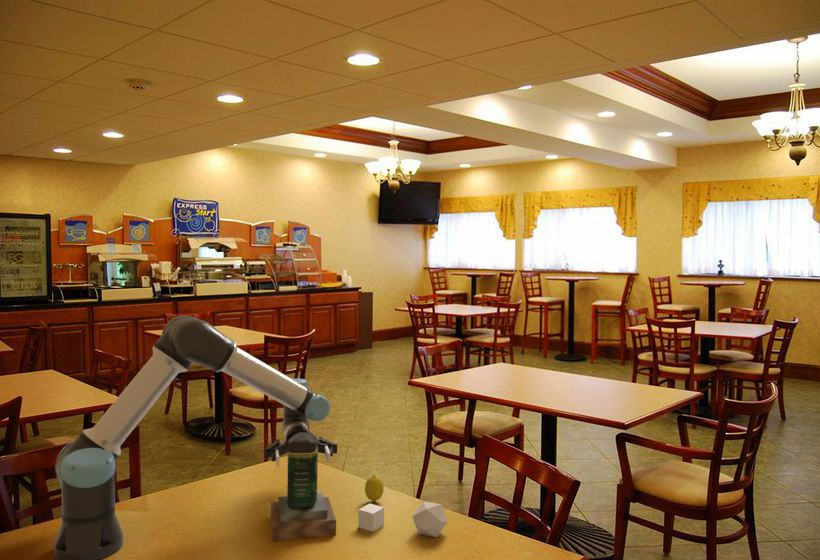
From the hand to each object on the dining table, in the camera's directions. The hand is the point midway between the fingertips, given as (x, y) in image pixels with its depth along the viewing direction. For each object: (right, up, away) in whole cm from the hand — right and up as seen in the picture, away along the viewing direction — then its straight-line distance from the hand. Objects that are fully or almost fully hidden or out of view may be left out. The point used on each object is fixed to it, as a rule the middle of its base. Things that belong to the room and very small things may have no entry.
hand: (303, 460), depth 167 cm
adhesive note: (+18, -18, 0) cm, 26 cm away
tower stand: (0, -18, 0) cm, 18 cm away
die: (+34, -18, -4) cm, 39 cm away
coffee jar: (0, -12, 0) cm, 12 cm away
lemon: (+18, -17, +17) cm, 30 cm away
